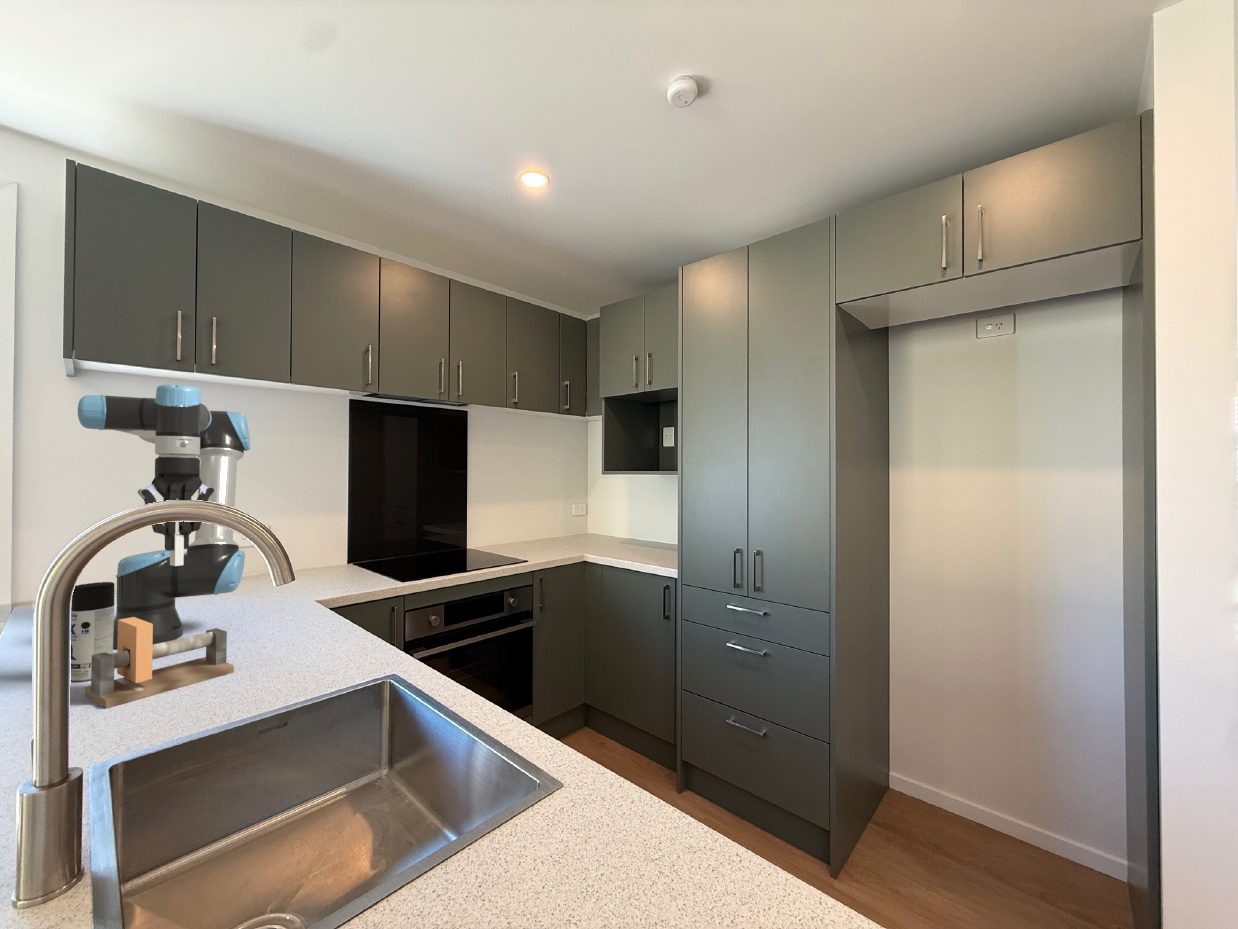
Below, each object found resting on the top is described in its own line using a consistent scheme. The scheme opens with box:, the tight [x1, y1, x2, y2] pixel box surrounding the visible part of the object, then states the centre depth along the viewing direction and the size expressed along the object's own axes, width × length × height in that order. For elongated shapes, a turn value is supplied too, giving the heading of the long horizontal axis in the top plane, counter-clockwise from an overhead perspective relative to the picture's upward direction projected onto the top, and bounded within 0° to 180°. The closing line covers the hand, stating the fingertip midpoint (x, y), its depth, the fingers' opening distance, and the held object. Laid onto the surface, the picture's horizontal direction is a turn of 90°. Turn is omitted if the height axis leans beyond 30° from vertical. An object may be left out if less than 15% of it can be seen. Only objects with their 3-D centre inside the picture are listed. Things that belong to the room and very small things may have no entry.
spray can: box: [70, 581, 115, 683], centre depth 114 cm, size 7×7×20 cm
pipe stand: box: [84, 627, 235, 709], centre depth 111 cm, size 21×12×9 cm, turn 149°
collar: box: [116, 617, 153, 683], centre depth 107 cm, size 2×10×11 cm, turn 59°
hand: (176, 564), depth 114 cm, fingers closed
